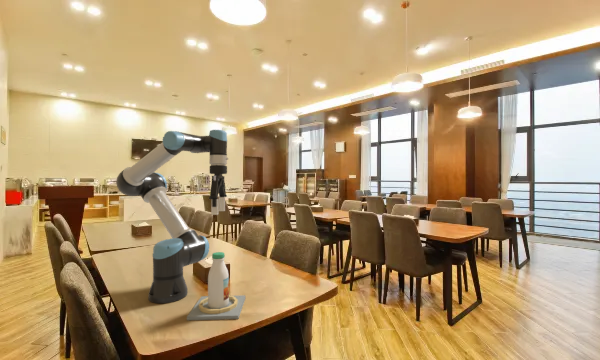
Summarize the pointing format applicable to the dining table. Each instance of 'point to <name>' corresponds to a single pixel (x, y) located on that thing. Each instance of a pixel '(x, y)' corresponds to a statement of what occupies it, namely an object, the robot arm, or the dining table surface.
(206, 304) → the ring board
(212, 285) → the milk bottle
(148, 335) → the dining table surface
